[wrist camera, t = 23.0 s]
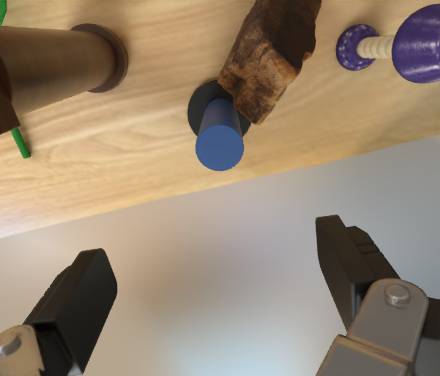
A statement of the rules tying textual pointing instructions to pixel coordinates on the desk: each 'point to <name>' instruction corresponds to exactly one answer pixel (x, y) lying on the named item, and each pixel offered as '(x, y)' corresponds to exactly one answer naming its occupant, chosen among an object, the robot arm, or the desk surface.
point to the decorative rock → (269, 54)
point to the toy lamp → (397, 46)
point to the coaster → (203, 98)
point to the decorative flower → (0, 12)
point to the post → (55, 67)
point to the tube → (220, 136)
